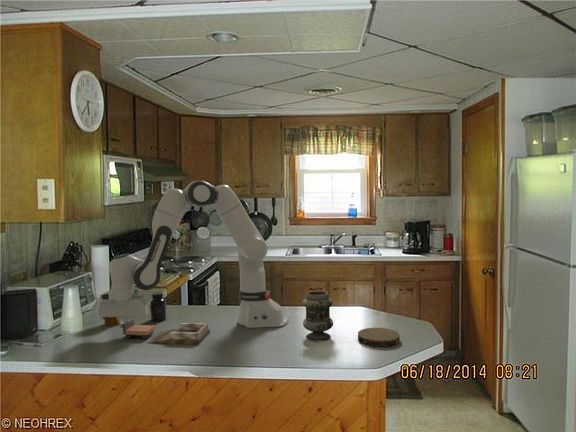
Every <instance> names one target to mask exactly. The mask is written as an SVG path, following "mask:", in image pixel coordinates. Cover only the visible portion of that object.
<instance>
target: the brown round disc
mask: <svg viewBox="0 0 576 432" xmlns="http://www.w3.org/2000/svg"><path fill="white" fill-rule="evenodd" d="M357 342H358V343H359V344H361V345H363V346H367V347H370V348H383V349H384V348H393V347H396V346H398V345H399V344H400V343H401V342H400V333H399V332H398V331H396V330H393V329H390V328H386V327H366V328H363V329H360V330H359V331H358V332H357Z"/></svg>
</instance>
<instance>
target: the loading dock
mask: <svg viewBox="0 0 576 432" xmlns="http://www.w3.org/2000/svg"><path fill="white" fill-rule="evenodd" d="M179 327H180V328H173V329H168V330H167V329H166V330H161V331H159V333H158V334H156V335H155V336H153V337H152V338H151V339H149V340H148V342H146V344H165V343H166V344H168V345H169V344H171V345H197V346H199V345H200V344H201V343H202V342H203V341H204V340H205V339H206V338H207V337H208V335H209V334H210V333H211V329H210V328H209V323H201V322H200V323H193V322H187V323H186V322H181V323H180V326H179Z"/></svg>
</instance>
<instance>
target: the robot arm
mask: <svg viewBox="0 0 576 432" xmlns="http://www.w3.org/2000/svg"><path fill="white" fill-rule="evenodd" d="M205 206H206V207H207V206H212V208H213V209H214V210H215V211H216V213H217V215H218V216H219V219H220V220H221V222H222V223H223V225H224V227H225V228H226V230H227V232H228V234H229V235H230V237H231V238H232V239H233V241H234V243H235V244H236V246H237V258H238V269H239V284H240V285H239V287H240V288H239V292H238V294H239V295H238V299H239V300H238V301H239V312H238V318H237V324H239V325H241V326H244V327H245V328H247V329H250V328H277V327H278V328H279V327H284V326H286V325H287V324H288V322H289V318H288V316H286V315H284V312H283V309H282V306H281V305H280V304H279V303H277V302H276V301H274V300H273V299H271V290H267V289H266V270H265V265H264V258H265V257H266V256H267V253H268V245H267V242H266V240H265V239H264V237H263V236H262V234H261V233H260V231H259V230H258V228H257V226H256V225H255V223H254V222H253V221H252V219H251V218H250V216H249V214H248V212H247V211H246V209H245V207H244V205H243V203H242V202H241V200H240V199H239V197H238V196H237V195H236V193H235V192H234V190H233V189H232V188H231V187H230V186H229V185H227V184H220V185H217V186H214V185H212V183H211V184H210V183H209V182H207V181H206V180H194V181H192V182H190V183H189V184H188V185H186V186H185V187H184V188H182V189H179V188H175V187H172V188H168V189H167V190H166V191H165V192H164V194H163V195H162V196H161V199H160V200H159V202H158V205H157V206H156V209H155V211H154V214H153V218H152V222H151V229H152V241H151V244H150V246H149V249H148V252H147V255H146V257H145V259H141V258H138V257H136V256H134V255H132V254H131V253H122V254H117V255H116V256H114V257H113V258H112V259H111V261H110V279H111V287H110V290H106V292H103V293H101V294H100V295H99V301H98V307H97V308H98V313H97V314H98V315H99V317H101V318H104V317H117V321H118V322H119V324H118V325H119V328H120V329H123V325H125V324H127V323H128V322H130V321H131V319H132V318H133V319H134V318H135V319H136V318H137V319H138V318H139V319H145V318H146V317H147V316H148V315H149V313H150V312H149V311H150V310H149V304H148V302H149V301H148V297H147V296H146V295H144V294H143V293H142V294H139V293H138V294H134V287H138V290H139V289H140V290H142V291H150V290H153V289H155V288H156V287H157V286H158V285H159V283H160V281H161V266H162V262H163V259H164V257H165V255H166V251H167V249H168V246H169V244H170V242H171V240H172V238H173V237H174V235H175V233H176V231H177V230H178V227H179V225H180V223H181V221H182V218H183V216H184V213H185V212H186V210H187V209H188V208H189V207H196V208H202V207H205ZM123 318H124V320H125V322H124V321H123Z"/></svg>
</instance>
